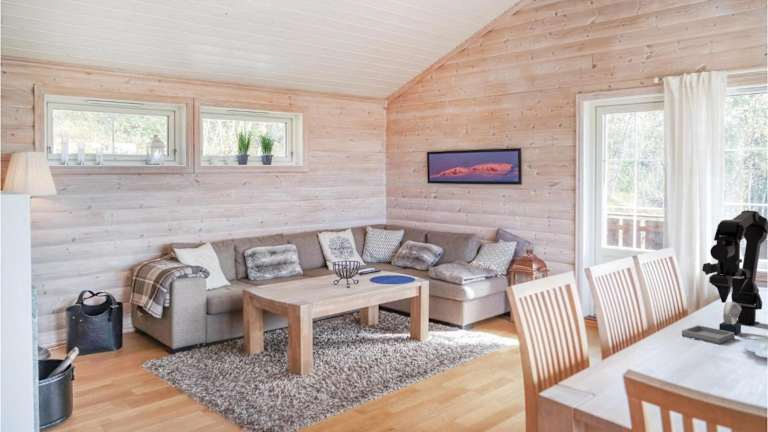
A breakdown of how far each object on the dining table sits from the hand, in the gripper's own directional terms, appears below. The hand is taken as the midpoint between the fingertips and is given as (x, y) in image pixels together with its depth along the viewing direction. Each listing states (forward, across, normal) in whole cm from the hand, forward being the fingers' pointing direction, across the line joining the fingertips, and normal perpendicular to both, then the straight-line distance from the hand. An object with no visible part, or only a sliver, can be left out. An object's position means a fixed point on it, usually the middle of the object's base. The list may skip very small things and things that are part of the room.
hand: (729, 300), depth 212 cm
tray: (+12, +11, -2) cm, 16 cm away
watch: (+12, 0, 0) cm, 12 cm away
